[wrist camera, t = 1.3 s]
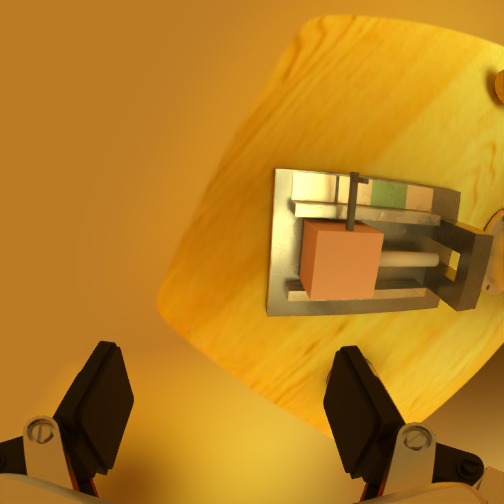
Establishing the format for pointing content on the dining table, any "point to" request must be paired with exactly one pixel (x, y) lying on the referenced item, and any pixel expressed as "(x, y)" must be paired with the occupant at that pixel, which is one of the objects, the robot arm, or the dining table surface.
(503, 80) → the lemon
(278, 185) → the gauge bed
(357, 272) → the plunger
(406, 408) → the dining table surface
